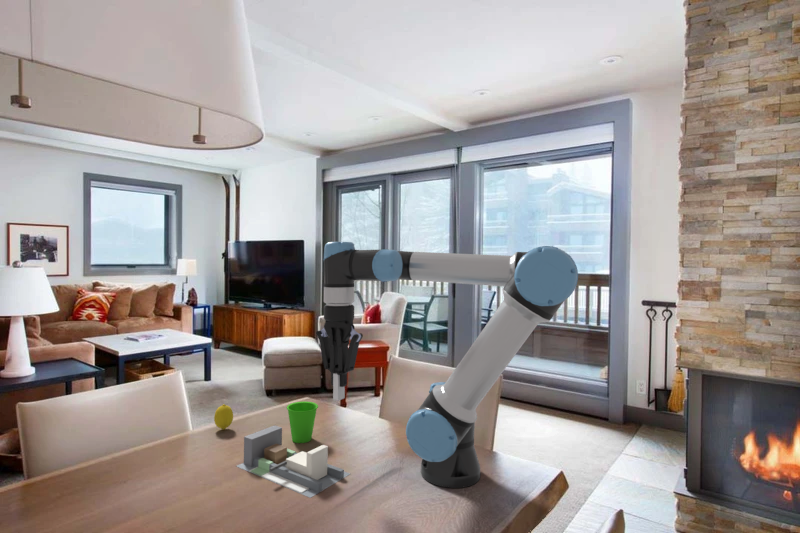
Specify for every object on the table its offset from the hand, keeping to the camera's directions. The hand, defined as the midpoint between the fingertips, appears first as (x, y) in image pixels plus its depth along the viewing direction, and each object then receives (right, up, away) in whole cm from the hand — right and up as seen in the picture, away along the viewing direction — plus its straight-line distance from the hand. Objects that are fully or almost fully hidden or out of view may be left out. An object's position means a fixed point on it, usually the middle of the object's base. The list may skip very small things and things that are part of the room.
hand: (338, 398), depth 113 cm
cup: (-14, -19, +20) cm, 31 cm away
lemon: (-40, -18, +29) cm, 53 cm away
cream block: (-9, -18, -4) cm, 20 cm away
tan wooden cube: (-17, -18, +5) cm, 25 cm away
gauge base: (-12, -19, +1) cm, 23 cm away
